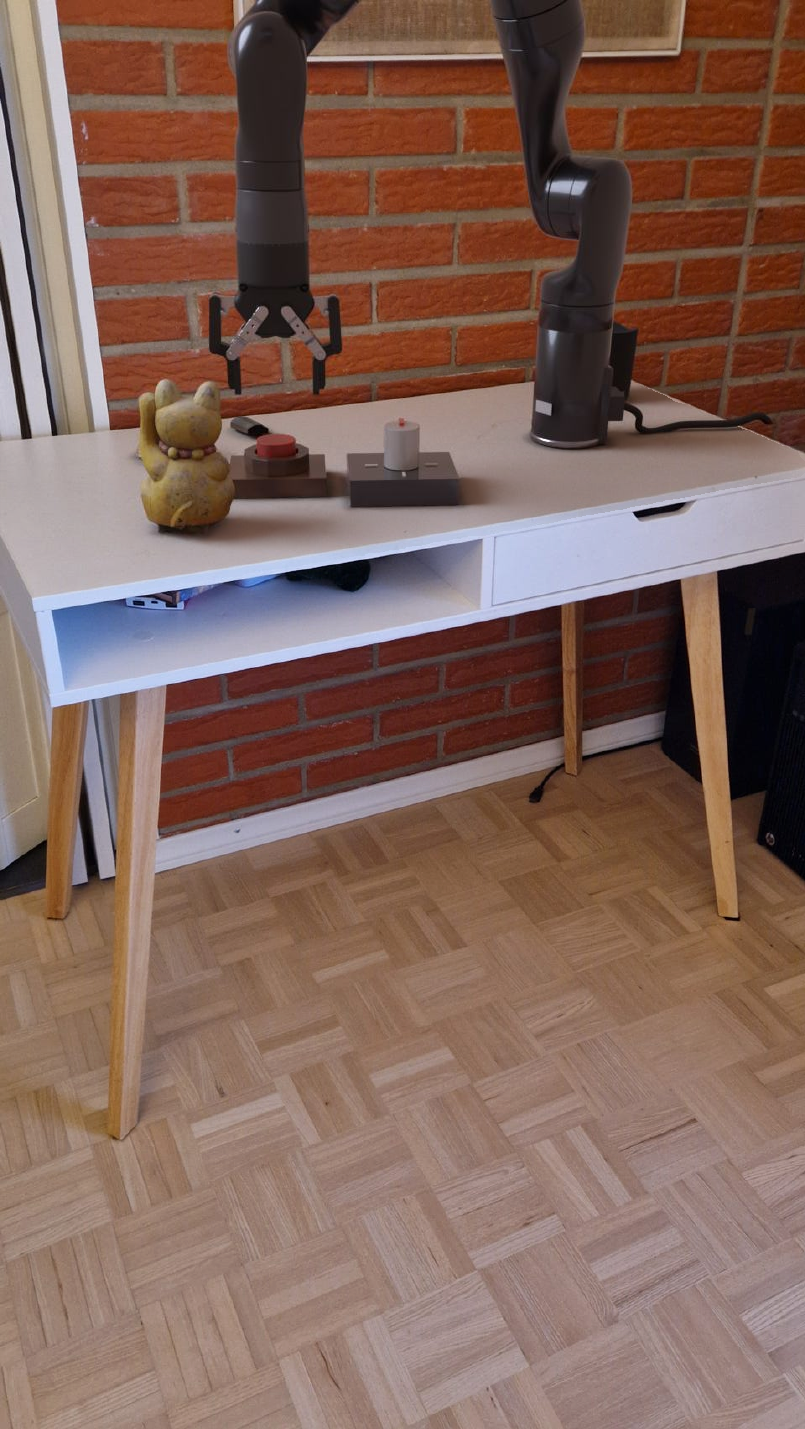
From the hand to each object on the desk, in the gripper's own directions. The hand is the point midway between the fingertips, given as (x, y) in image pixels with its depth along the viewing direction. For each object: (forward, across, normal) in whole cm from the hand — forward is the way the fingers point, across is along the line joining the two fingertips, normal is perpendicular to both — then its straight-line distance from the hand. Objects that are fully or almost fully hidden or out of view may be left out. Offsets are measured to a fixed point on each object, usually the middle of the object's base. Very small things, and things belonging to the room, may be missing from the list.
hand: (277, 393), depth 130 cm
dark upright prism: (+10, +46, +38) cm, 60 cm away
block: (+11, -4, +22) cm, 25 cm away
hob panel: (+11, +14, -2) cm, 17 cm away
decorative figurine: (+11, -10, -13) cm, 19 cm away
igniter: (+11, 0, +1) cm, 11 cm away
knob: (+8, +14, -2) cm, 16 cm away
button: (+7, 0, +1) cm, 7 cm away
